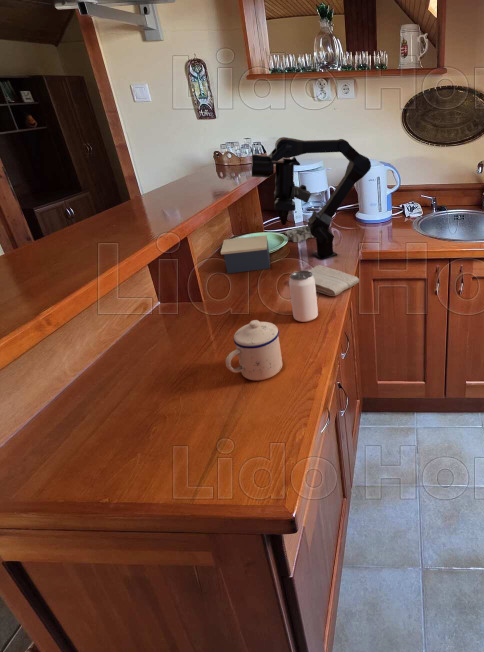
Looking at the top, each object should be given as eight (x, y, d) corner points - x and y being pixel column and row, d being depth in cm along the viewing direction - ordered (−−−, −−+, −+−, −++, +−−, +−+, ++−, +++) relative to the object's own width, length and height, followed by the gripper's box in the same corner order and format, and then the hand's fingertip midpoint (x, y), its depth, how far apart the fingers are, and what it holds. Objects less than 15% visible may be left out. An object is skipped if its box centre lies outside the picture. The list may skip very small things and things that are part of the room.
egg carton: (295, 243, 162) (294, 233, 161) (284, 239, 167) (283, 229, 166) (317, 236, 169) (316, 227, 167) (307, 232, 174) (305, 223, 172)
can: (294, 324, 107) (289, 282, 102) (292, 312, 113) (287, 271, 108) (319, 320, 108) (315, 278, 104) (316, 308, 114) (312, 268, 109)
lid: (220, 254, 135) (220, 252, 134) (224, 241, 146) (224, 239, 145) (267, 249, 138) (266, 247, 137) (267, 237, 149) (266, 235, 149)
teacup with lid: (267, 351, 96) (260, 306, 92) (292, 366, 91) (285, 320, 86) (219, 377, 88) (208, 329, 83) (243, 395, 83) (233, 346, 78)
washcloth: (318, 270, 138) (317, 262, 136) (361, 283, 128) (360, 274, 127) (291, 284, 129) (290, 274, 128) (335, 298, 119) (334, 289, 118)
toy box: (227, 273, 138) (223, 254, 135) (230, 259, 149) (226, 241, 146) (269, 268, 140) (267, 249, 138) (269, 255, 152) (267, 237, 149)
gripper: (312, 185, 130) (310, 233, 135) (307, 174, 146) (305, 218, 152) (275, 183, 127) (274, 232, 132) (274, 172, 143) (274, 217, 149)
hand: (283, 224), depth 142 cm, fingers closed
